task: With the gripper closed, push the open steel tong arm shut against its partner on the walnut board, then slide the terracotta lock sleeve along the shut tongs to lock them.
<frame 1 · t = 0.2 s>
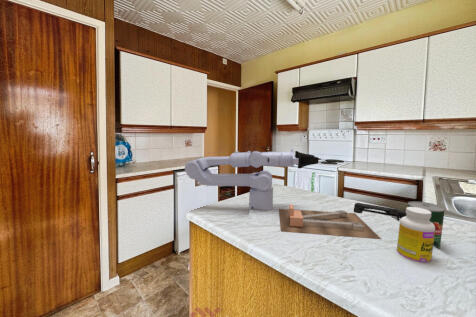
hand: (316, 159, 81), 21 cm above the counter, tool horizontal, fingers open, 7 cm apart
tong arm: (323, 215, 75), point 3 cm above the counter, hinge at 25.0°
supplement bottle: (412, 260, 53), on the counter
walnut board: (321, 225, 73), on the counter
fixed tong arm: (326, 226, 69), resting on walnut board
canned tomato: (421, 243, 62), on the counter
door handle: (382, 220, 80), on the counter
lock sleeve: (295, 214, 71), point 4 cm above the counter, slide at 0.0 cm
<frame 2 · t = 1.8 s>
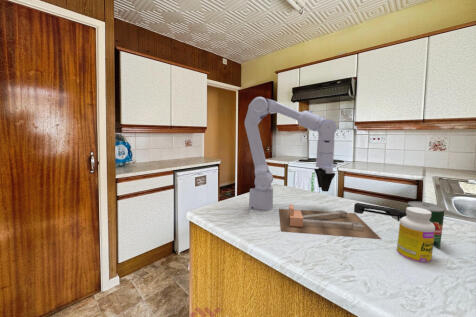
hand: (323, 189, 80), 10 cm above the counter, tool pointing down, fingers open, 5 cm apart
nothing on the counter moved.
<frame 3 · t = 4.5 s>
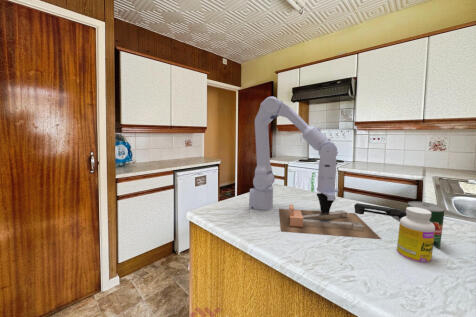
hand: (324, 214, 77), 2 cm above the counter, tool pointing down, fingers closed
tong arm: (323, 215, 75), point 3 cm above the counter, hinge at 25.0°, touching gripper
everything else where it was.
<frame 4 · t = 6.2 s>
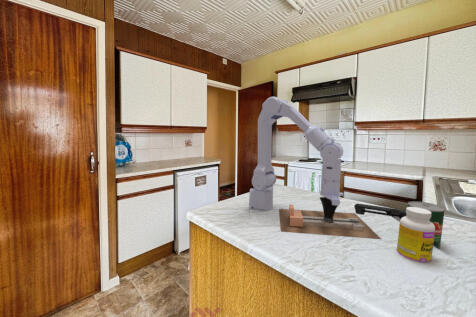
hand: (328, 219, 72), 2 cm above the counter, tool pointing down, fingers closed
tong arm: (329, 220, 71), point 3 cm above the counter, hinge at 0.3°, touching gripper
everything else where it was.
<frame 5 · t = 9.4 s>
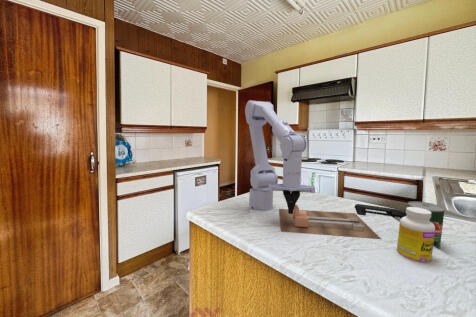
hand: (290, 212, 71), 5 cm above the counter, tool pointing down, fingers closed
tong arm: (329, 220, 71), point 3 cm above the counter, hinge at 0.1°
lock sleeve: (300, 214, 71), point 4 cm above the counter, slide at 1.6 cm, touching gripper
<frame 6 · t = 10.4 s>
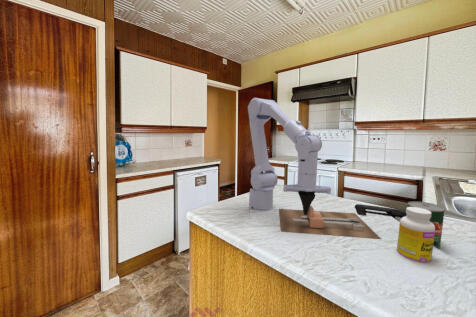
hand: (305, 213, 70), 5 cm above the counter, tool pointing down, fingers closed
lock sleeve: (314, 215, 70), point 4 cm above the counter, slide at 6.1 cm, touching gripper
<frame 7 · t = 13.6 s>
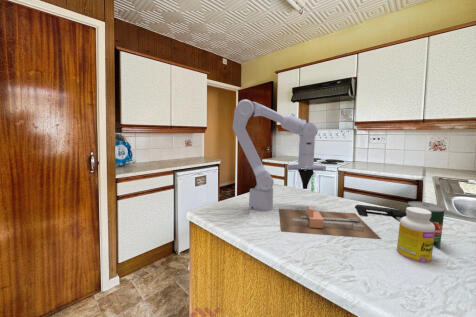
hand: (304, 188, 85), 9 cm above the counter, tool pointing down, fingers closed
lock sleeve: (314, 215, 70), point 4 cm above the counter, slide at 6.1 cm
at the end: tong arm at +0° (first picture: +25°); lock sleeve slide at 6.1 cm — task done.
